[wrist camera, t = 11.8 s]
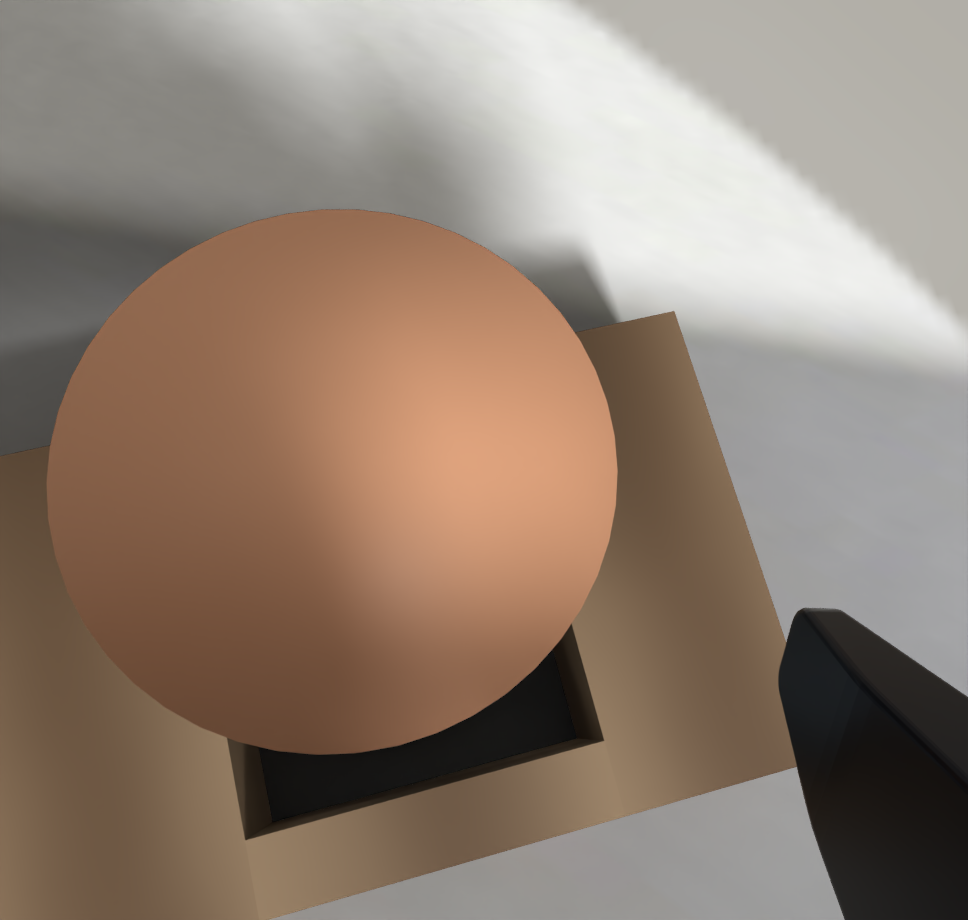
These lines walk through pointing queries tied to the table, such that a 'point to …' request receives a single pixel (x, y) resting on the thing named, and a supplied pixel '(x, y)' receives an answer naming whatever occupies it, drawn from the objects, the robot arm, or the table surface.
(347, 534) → the peg
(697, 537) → the wooden peg holder
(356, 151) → the table surface
